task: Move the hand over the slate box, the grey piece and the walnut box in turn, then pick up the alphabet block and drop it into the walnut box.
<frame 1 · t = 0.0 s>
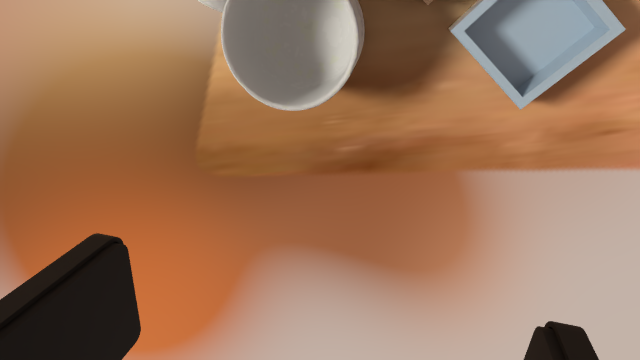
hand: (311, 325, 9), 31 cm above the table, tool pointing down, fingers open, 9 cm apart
slate box: (523, 27, 33), on the table
grey piece: (298, 21, 37), on the table
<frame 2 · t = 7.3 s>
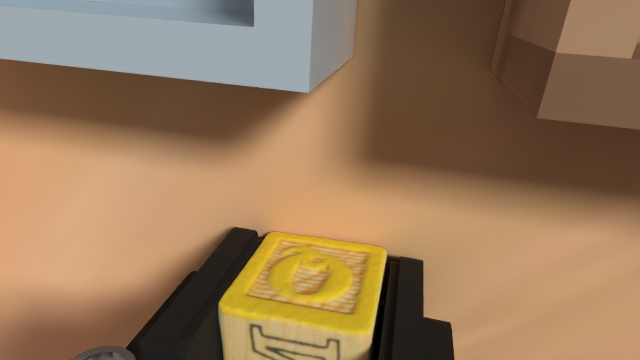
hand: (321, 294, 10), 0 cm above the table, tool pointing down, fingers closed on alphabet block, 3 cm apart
alphabet block: (325, 281, 11), on the table, touching gripper
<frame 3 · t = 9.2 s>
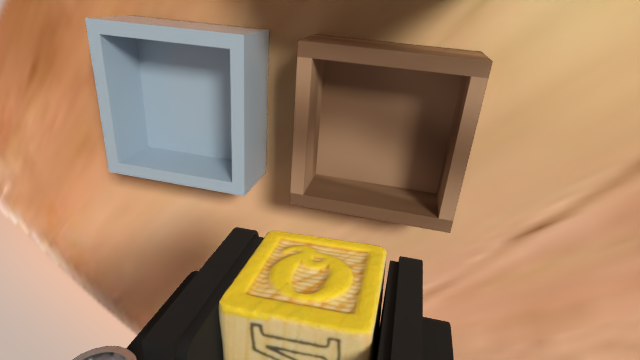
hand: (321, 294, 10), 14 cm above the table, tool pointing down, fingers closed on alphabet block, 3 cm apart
slate box: (200, 97, 24), on the table
walnut box: (384, 122, 23), on the table
alphabet block: (325, 280, 11), point 14 cm above the table, touching gripper
when the fingers open (4 cm above the table, at t = 11.0 s): alphabet block drops 3 cm, resting on walnut box.
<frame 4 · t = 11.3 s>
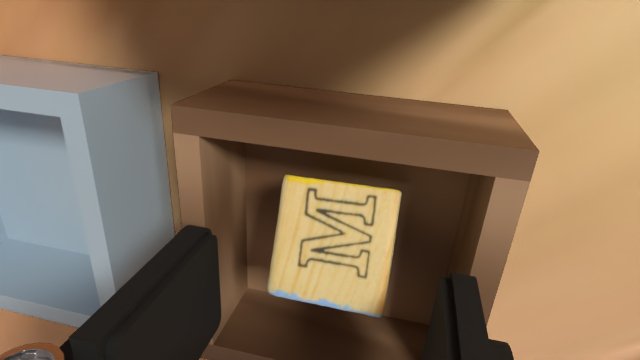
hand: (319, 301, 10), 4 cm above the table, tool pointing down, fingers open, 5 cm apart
slate box: (72, 170, 16), on the table
walnut box: (348, 215, 14), on the table
alphabet block: (347, 231, 13), point 1 cm above the table, touching walnut box
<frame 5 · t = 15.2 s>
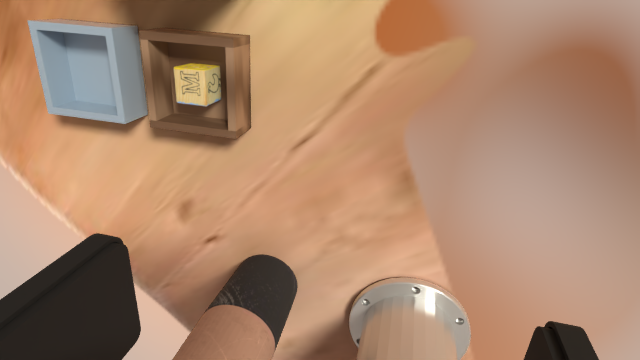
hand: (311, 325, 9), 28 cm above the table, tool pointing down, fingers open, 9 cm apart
slate box: (104, 67, 40), on the table
walnut box: (208, 79, 38), on the table
alphabet block: (207, 80, 38), resting on walnut box
travel mug: (268, 279, 46), on the table
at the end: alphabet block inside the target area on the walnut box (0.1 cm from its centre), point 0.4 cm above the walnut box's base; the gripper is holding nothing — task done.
